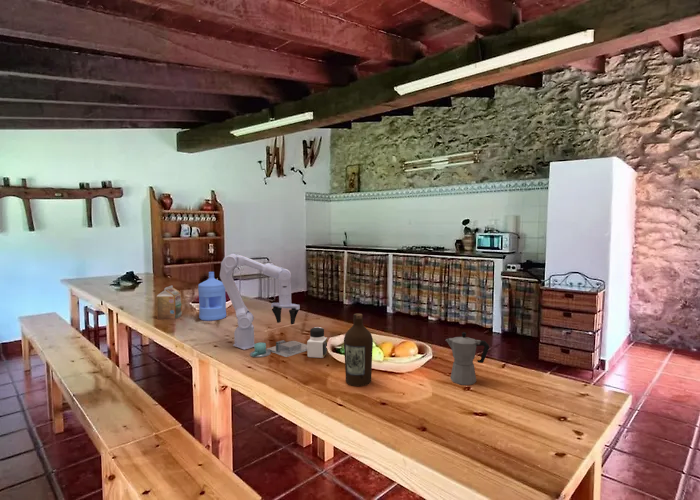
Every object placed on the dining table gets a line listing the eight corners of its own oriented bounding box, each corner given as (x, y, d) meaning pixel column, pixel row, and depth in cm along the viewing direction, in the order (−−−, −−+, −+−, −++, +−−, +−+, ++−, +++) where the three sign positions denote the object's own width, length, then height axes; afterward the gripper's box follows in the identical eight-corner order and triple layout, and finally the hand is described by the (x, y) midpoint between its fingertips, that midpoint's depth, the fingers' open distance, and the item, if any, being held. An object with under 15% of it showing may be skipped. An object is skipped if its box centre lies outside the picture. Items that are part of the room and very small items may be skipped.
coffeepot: (443, 382, 150) (443, 333, 149) (447, 373, 159) (447, 327, 158) (487, 388, 145) (488, 338, 143) (489, 379, 153) (490, 331, 152)
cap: (248, 356, 179) (247, 347, 179) (258, 350, 187) (258, 342, 187) (257, 357, 178) (257, 348, 177) (268, 351, 185) (268, 343, 185)
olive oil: (349, 374, 159) (348, 310, 157) (376, 377, 155) (375, 312, 153) (340, 385, 148) (339, 316, 146) (368, 388, 145) (368, 318, 143)
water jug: (206, 314, 260) (205, 270, 258) (230, 315, 258) (229, 270, 256) (194, 320, 245) (192, 273, 242) (219, 321, 242) (217, 273, 240)
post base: (266, 350, 189) (266, 339, 188) (294, 342, 200) (294, 332, 200) (286, 357, 179) (285, 345, 179) (313, 348, 191) (313, 337, 190)
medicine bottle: (323, 358, 177) (322, 330, 176) (307, 357, 179) (306, 330, 178) (327, 352, 184) (327, 326, 183) (312, 351, 186) (311, 325, 185)
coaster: (245, 354, 183) (245, 353, 183) (262, 349, 190) (262, 348, 190) (257, 358, 177) (257, 357, 177) (274, 353, 184) (274, 352, 184)
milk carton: (174, 319, 248) (173, 288, 246) (157, 319, 248) (155, 288, 246) (182, 315, 258) (180, 285, 257) (165, 315, 258) (164, 285, 257)
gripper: (267, 295, 194) (267, 323, 195) (293, 297, 188) (294, 326, 189) (275, 292, 200) (276, 320, 201) (301, 294, 195) (302, 323, 196)
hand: (285, 323), depth 196 cm, fingers open, 7 cm apart
